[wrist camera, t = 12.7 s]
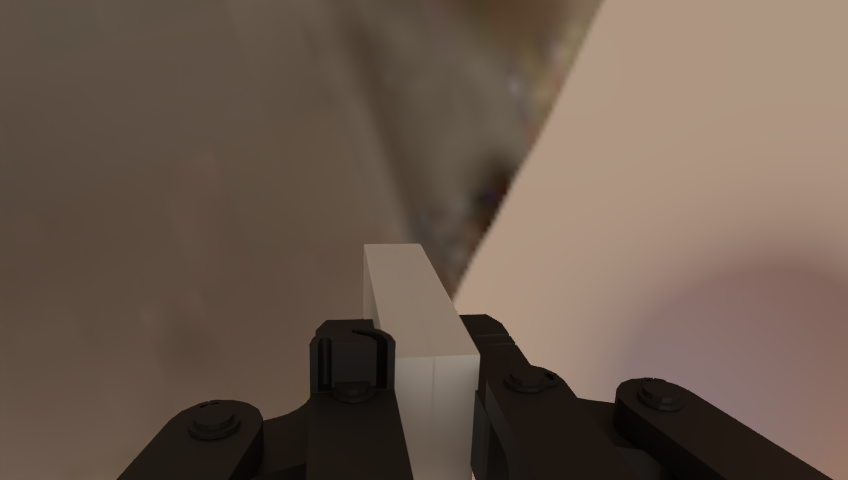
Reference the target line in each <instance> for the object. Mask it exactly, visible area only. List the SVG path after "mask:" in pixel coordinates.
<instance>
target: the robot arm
mask: <svg viewBox="0 0 848 480" xmlns="http://www.w3.org/2000/svg"><path fill="white" fill-rule="evenodd" d="M472 471H473V474H474V477H475V479H476V480H833V479H831V478H829V477H828V476H826V475H824V474H823V473H821V472H820V471H818V470H817V469H815V468H813V467H812V466H810V465H809V464H807V463H805V462H804V461H802V460H800V459H799V458H797V457H796V456H794V455H792V454H791V453H789V452H787V451H786V450H784V449H783V448H781V447H779V446H778V445H776V444H774V443H773V442H771V441H770V440H768V439H766V438H765V437H763V436H762V435H760V434H758V433H757V432H755V431H753V430H752V429H750V428H749V427H747V426H746V425H744V424H742V423H741V422H739V421H738V420H736V419H734V418H733V417H731V416H729V415H728V414H726V413H725V412H723V411H721V410H720V409H718V408H717V407H715V406H713V405H712V404H710V403H709V402H707V401H705V400H704V399H702V398H700V397H699V396H697V395H696V394H694V393H692V392H691V391H689V390H687V389H685V388H683V387H680V386H678V385H676V384H673V383H669V382H666V381H665V380H662V379H657V378H654V379H653V378H640V379H630V380H627V381H625V382H622V383H621V384H620V385H619V386H618V388H617V390H616V397H615V403H609V402H602V401H594V400H586V399H581V398H577V397H576V395H575V394H574V393H573V391H572V390H571V389H570V387H569V386H568V385H567V383H566V382H565V381H564V380H563V379H562V378H561V377H559V376H558V375H557V374H556V373H554V372H552V371H549V370H547V369H545V368H542V367H537V366H533V365H530V363H529V362H528V361H527V359H526V358H525V356H524V355H523V353H522V352H521V351H520V349H519V348H518V346H517V345H515V342H514V341H513V339H512V338H511V336H509V333H508V332H507V330H506V329H505V328H504V326H503V325H502V323H500V322H498V321H497V320H495V319H493V318H492V317H490V316H488V315H486V314H482V315H481V314H480V315H479V314H478V315H458V313H457V311H456V309H455V307H454V305H453V304H452V302H451V300H450V298H449V296H448V294H447V293H446V291H445V289H444V287H443V285H442V283H441V281H440V280H439V278H438V276H437V274H436V272H435V270H434V268H433V267H432V265H431V263H430V261H429V259H428V257H427V256H426V254H425V252H424V250H423V248H422V246H421V244H364V280H363V319H356V320H326V321H325V322H324V323H323V324H322V325H321V326H320V327H319V328H318V329H317V330H316V336H315V337H313V339H312V341H311V343H310V398H309V400H308V401H307V402H306V403H305V404H304V405H303V406H301V407H300V408H299V409H297V410H295V411H293V412H291V413H289V414H286V415H283V416H280V417H277V418H273V419H269V420H265V421H263V417H262V415H261V413H260V411H259V409H257V408H256V407H254V406H252V405H250V404H249V403H245V402H240V401H235V400H212V401H210V402H208V401H207V402H203V403H199V404H197V405H195V406H193V407H190V408H188V409H186V410H183V411H181V412H180V413H179V414H177V415H176V416H175V417H173V418H172V419H171V420H170V421H169V422H168V423H167V424H166V425H165V426H164V427H163V428H162V429H161V431H160V432H159V433H158V434H157V435H156V436H155V437H154V438H153V439H152V441H151V442H150V443H149V444H148V445H147V446H146V447H145V448H144V449H143V451H142V452H141V453H140V454H139V455H138V456H137V457H136V458H135V459H134V461H133V462H132V463H131V464H130V465H129V466H128V467H127V468H126V470H125V471H124V472H123V473H122V474H121V475H120V476H119V477H118V478H117V480H472Z"/></svg>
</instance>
